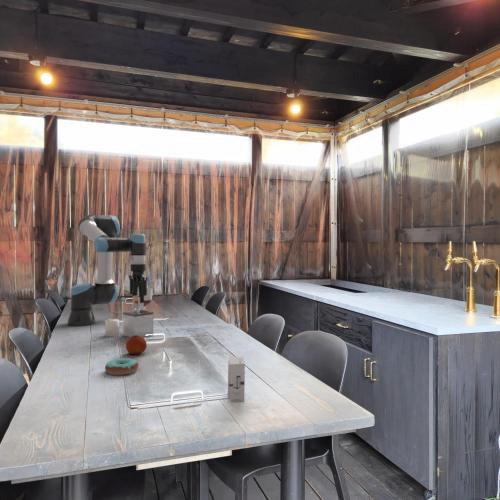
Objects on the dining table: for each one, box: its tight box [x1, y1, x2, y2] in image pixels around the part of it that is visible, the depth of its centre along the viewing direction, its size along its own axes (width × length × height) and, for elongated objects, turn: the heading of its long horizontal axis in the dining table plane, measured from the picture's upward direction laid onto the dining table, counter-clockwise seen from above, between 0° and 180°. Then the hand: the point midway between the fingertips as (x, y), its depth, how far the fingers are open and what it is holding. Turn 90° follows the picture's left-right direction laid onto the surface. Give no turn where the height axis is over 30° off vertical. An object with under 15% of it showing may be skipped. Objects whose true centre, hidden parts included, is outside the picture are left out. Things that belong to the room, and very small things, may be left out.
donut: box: [104, 357, 139, 376], centre depth 160 cm, size 12×12×4 cm
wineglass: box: [137, 287, 154, 311], centre depth 241 cm, size 9×10×22 cm
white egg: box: [104, 318, 120, 338], centre depth 222 cm, size 7×7×8 cm
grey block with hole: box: [122, 309, 154, 338], centre depth 222 cm, size 11×11×12 cm
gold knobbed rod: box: [134, 295, 141, 313], centre depth 222 cm, size 7×7×19 cm
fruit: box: [125, 335, 147, 355], centre depth 185 cm, size 9×9×8 cm
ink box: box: [227, 356, 246, 403], centre depth 134 cm, size 9×5×12 cm, turn 5°
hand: (138, 308), depth 222 cm, fingers closed on gold knobbed rod, 4 cm apart
